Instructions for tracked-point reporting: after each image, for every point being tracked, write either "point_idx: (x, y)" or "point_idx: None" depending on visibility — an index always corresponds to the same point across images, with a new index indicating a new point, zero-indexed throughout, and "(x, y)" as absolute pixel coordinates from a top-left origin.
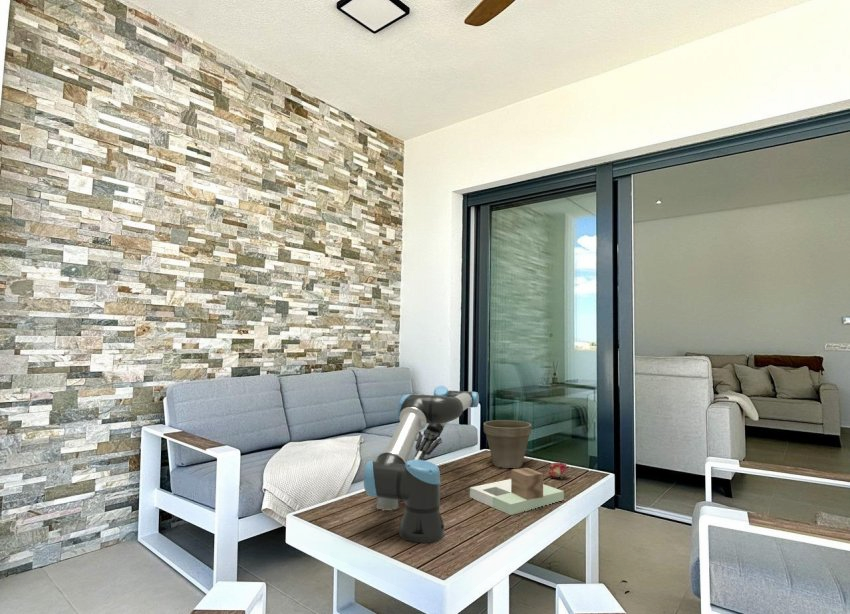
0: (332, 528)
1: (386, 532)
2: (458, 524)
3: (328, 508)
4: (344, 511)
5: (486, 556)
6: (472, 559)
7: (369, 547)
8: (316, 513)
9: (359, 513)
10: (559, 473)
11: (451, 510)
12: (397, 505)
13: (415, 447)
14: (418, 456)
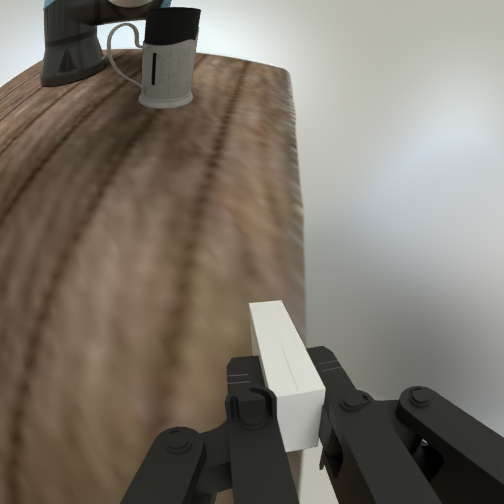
0: (203, 55)
1: (123, 61)
2: (15, 106)
3: (267, 80)
4: (232, 76)
5: (4, 82)
6: (19, 74)
7: (130, 49)
8: (265, 71)
9: (201, 75)
10: None
11: (16, 134)
12: (140, 95)
13: (423, 387)
14: (268, 340)
